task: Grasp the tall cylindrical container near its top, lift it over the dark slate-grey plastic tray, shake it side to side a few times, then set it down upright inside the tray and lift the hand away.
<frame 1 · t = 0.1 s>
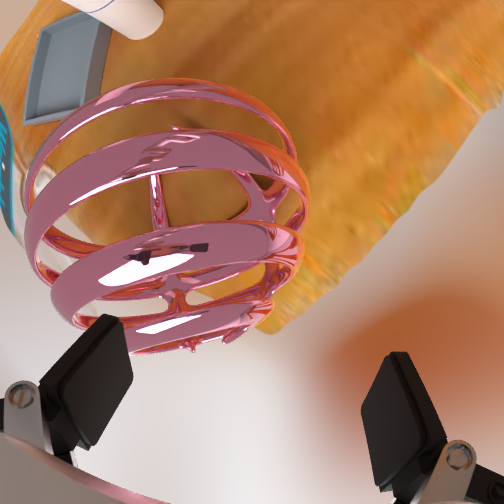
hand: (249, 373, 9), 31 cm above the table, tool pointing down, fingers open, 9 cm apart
tray: (71, 67, 33), on the table
cylindrical container: (143, 22, 30), on the table
spiral basket: (202, 207, 40), on the table
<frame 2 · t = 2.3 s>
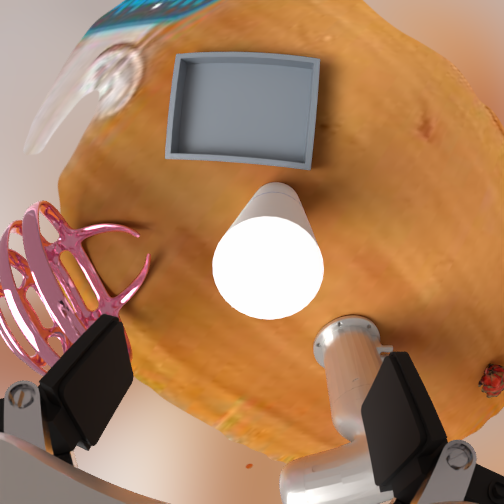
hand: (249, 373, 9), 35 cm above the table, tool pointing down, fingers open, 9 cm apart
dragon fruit: (487, 371, 49), on the table
tray: (244, 109, 37), on the table
cylindrical container: (276, 205, 42), on the table
spiral basket: (106, 261, 48), on the table
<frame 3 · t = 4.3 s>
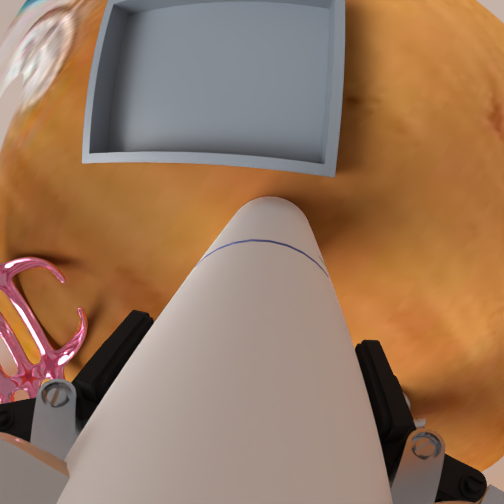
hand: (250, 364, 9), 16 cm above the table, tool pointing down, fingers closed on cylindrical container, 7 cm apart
tray: (214, 72, 20), on the table
cylindrical container: (269, 236, 25), on the table, touching gripper
spiral basket: (42, 304, 31), on the table
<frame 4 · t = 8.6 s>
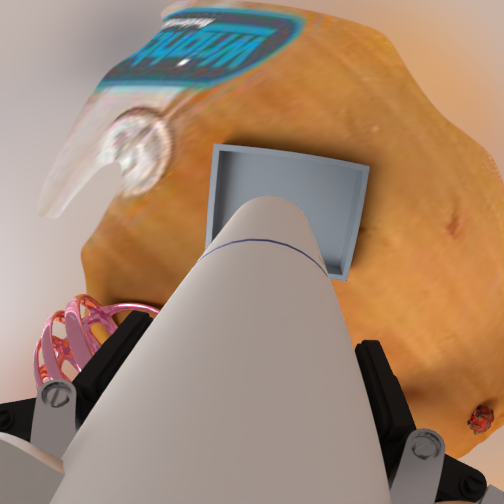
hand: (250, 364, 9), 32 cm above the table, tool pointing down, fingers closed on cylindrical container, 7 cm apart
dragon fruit: (476, 411, 52), on the table
tray: (284, 208, 40), on the table
cylindrical container: (269, 236, 24), point 16 cm above the table, touching gripper
spiral basket: (138, 333, 50), on the table
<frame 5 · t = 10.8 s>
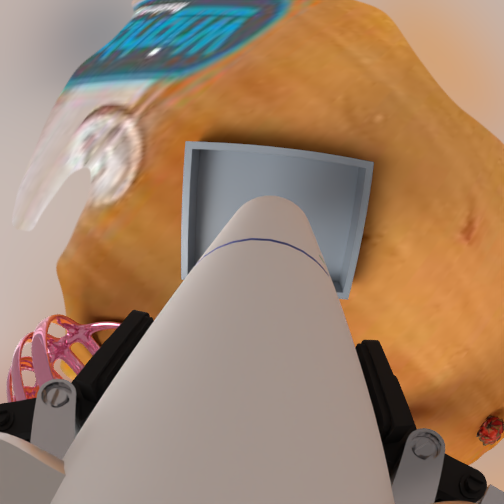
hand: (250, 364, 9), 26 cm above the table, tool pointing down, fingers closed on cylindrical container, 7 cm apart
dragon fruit: (486, 421, 45), on the table
tray: (273, 215, 34), on the table
cylindrical container: (270, 236, 24), point 10 cm above the table, touching gripper
spiral basket: (120, 352, 45), on the table
when the fingers open (18 cm above the table, at t = 12.8 s): cylindrical container stays where it is, resting on tray.
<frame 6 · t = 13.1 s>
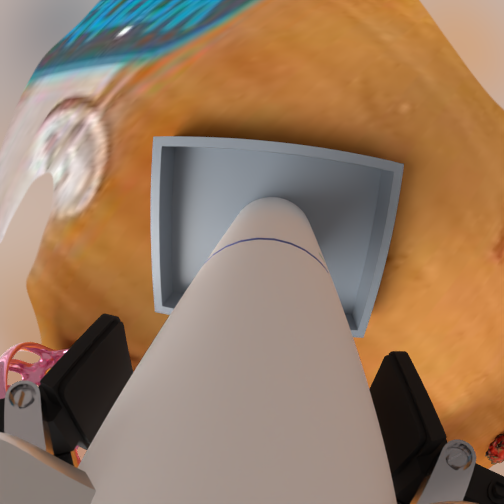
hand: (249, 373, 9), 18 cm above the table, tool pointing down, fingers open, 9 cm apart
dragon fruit: (495, 439, 38), on the table
tray: (270, 231, 26), on the table
cylindrical container: (271, 236, 25), point 1 cm above the table, touching tray
spiral basket: (99, 380, 37), on the table
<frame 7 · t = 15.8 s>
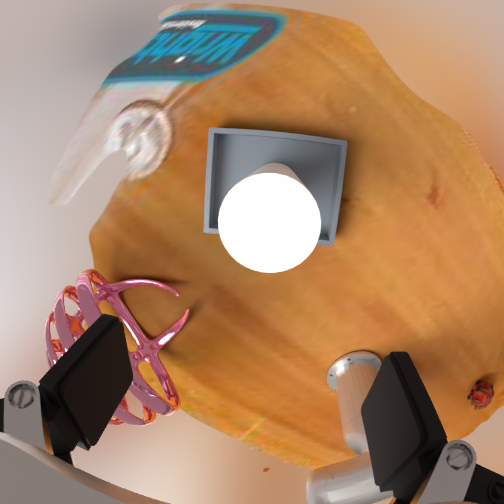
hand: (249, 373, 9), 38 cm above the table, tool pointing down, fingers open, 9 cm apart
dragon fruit: (476, 386, 56), on the table
tray: (274, 183, 44), on the table
cylindrical container: (275, 185, 43), point 1 cm above the table, touching tray
spiral basket: (143, 309, 55), on the table
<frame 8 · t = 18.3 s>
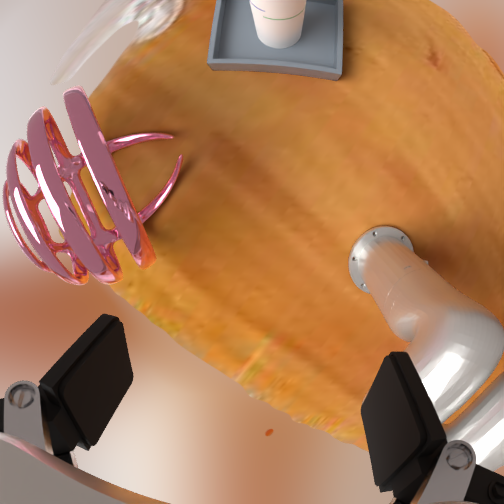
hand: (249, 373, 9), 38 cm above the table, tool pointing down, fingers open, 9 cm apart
tray: (278, 32, 35), on the table
cylindrical container: (279, 31, 35), point 1 cm above the table, touching tray
spiral basket: (129, 177, 46), on the table
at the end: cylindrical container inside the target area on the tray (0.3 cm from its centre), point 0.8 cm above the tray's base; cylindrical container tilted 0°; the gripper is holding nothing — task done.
